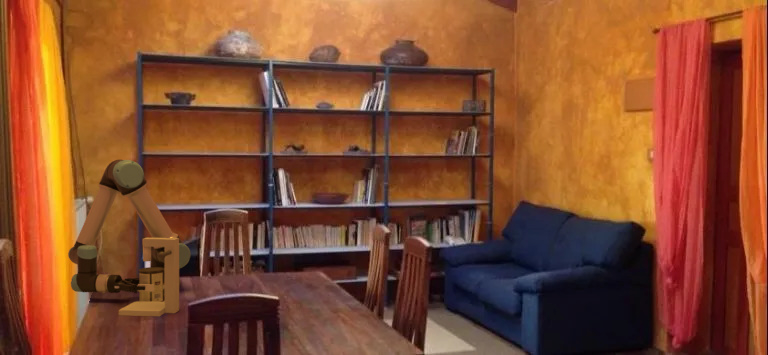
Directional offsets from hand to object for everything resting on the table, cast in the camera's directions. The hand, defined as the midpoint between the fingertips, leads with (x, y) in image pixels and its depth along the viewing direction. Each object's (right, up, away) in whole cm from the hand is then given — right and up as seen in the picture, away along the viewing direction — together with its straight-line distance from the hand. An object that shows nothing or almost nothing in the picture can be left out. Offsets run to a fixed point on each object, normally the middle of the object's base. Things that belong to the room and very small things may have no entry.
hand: (159, 284), depth 291 cm
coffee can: (-3, -8, +1) cm, 8 cm away
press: (+2, -8, -17) cm, 19 cm away
